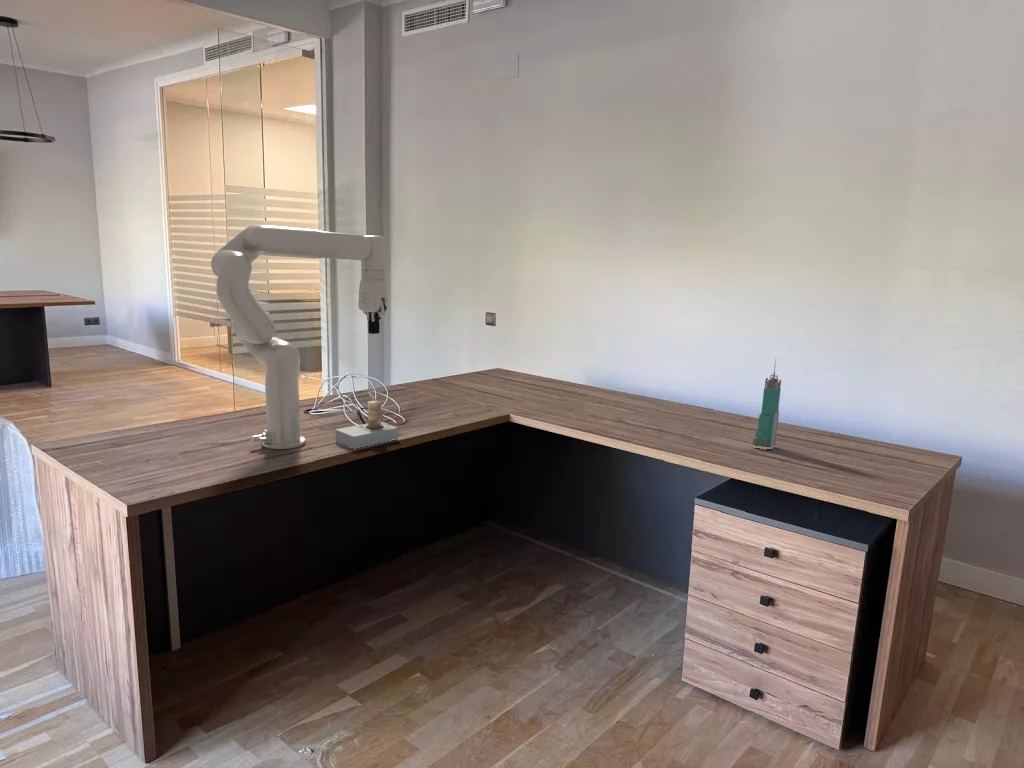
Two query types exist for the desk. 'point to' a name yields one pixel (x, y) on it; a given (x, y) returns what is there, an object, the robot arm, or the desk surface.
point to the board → (365, 435)
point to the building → (769, 414)
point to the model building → (373, 400)
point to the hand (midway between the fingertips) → (373, 333)
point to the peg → (374, 415)
